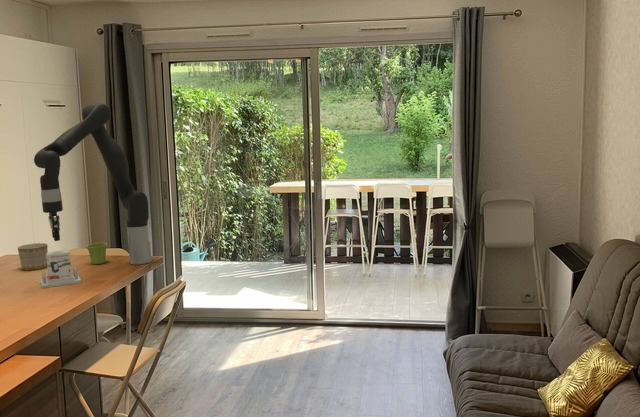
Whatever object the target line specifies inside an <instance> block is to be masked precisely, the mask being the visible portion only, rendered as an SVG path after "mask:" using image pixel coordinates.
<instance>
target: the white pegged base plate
mask: <svg viewBox="0 0 640 417" xmlns="http://www.w3.org/2000/svg"><path fill="white" fill-rule="evenodd" d="M72 270H73V271H72V273H73V274H72V277H66V278H59V279H52V280H49V276H48V275H46V272H45V271H41V279H40V280H39V281H40V286H41V289H46V288H52V287H57V286H60V287H61V286H66V285H67V286H68V285H72V284H80V283H82V279H81V277H80V276H79V274H78V269H77V267H76V266H74V267H72Z"/></svg>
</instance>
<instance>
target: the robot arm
mask: <svg viewBox="0 0 640 417" xmlns="http://www.w3.org/2000/svg"><path fill="white" fill-rule="evenodd" d="M81 116H82V117H81V118H82V121H80V122H79V123H77V124H75V125H74V126H72V127H71V128H69V129H67V130H66V131H64V132H63V133H62V134H61V135H60V136H58V137H57V138H56V139H55V140H54V141H53V142H52V143H49V144H48V145H46V146H44V147H43V148H41V149H40V150H39V151H38V152H36V153H35V155H34V158H33V163H34V164H35V166H36V167H38V168H39V169H44V173H43V174H42V175H41V176H40V178H39V183H40V190H41V191H40V197H41V206H42V213H46V214H48V216H47V218H48V222H49V226H50V229H51V235H52V238H53V240H54V242H58V241H61V235H60V231H61V228H60V226H61V223H60V215H59V214H58V213H59V212H62V211H63V210H64V207H63V201H62V200H63V199H62V192H61V188H60V187H61V186H60V180H59V176H60V172H61V171H60V170H61V159H60V157H64V156H66V155H67V154H69V152H71V151H72V150H73V149H74V148H75V147H76V146H77V145H78V144H79V143H80V142H82V141H83V140H84V139H85V138H86V137H87V136H89V135H91V136H92V138H93V140H94V142H95V144H96V147H97V149H98V151H99V152H100V154H101V156H102V160H103V161H104V164H105V166H106V168H107V170H108V172H109V175H110V176H111V178H112V179H111V180H112V181H113V183H114V185H115V187H116V190H117V193H118V197H119V199H120V202H121V205H122V206H123V207H124V208H123V209H126V210H127V211H129V218H128V219H127V220H126V230H127V231H126V233H127V242H128V244H127V245H128V254H129V263H130V265H144V264H148V263H152V259H153V258H152V250H151V249H152V248H151V241H150V238H149V225H148V224H149V222H148V221H149V218H150V217H149V216H150V213H149V212H150V211H149V200H148V196H147V195H146V193H145V192H143V191H139V190H136V189H135V188H134V185H133V184H132V182H131V178H130V172H129V169H130V167H129V163H128V162H129V161H128V159H127V157H126V154H125V152H124V150H123V148H122V147H121V145H120V144H118V142H117V141H116V140H115V139H114V138H113V137H112V136H111V135H110V134H109V132H108V130H107V129H106V126H105V124H107V123H109V121H110V120H111V117H112V112H111V109H110V107H109V106H108V105H106V104H104V103H94V104H89V105H85V106H84V107H83V108H82V111H81Z"/></svg>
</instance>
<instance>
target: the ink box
mask: <svg viewBox="0 0 640 417" xmlns="http://www.w3.org/2000/svg"><path fill="white" fill-rule="evenodd" d="M46 258H47V267H46V268H47V274H48V275H47V276H49V280H52V279H59V278H66V277H72V276H73V271H72V265H71V264H72V263H71V254H70V251H68V249H64V250H58V251H57V250H56V251H50V252H49V251H48V253H46Z"/></svg>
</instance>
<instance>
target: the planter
mask: <svg viewBox="0 0 640 417" xmlns="http://www.w3.org/2000/svg"><path fill="white" fill-rule="evenodd" d="M48 245H49V244H47V243H43V242H42V243H40V242H39V243H37V242H36V243H29V244H24V245H23V244H22V245H19V246H17V252H18V256H19V258H18V259H19V261H20V267H21V269H22V270H24V271H29V270H30V271H38V270H42V269H46V268H47V258H46V253H49V251H48Z"/></svg>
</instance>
